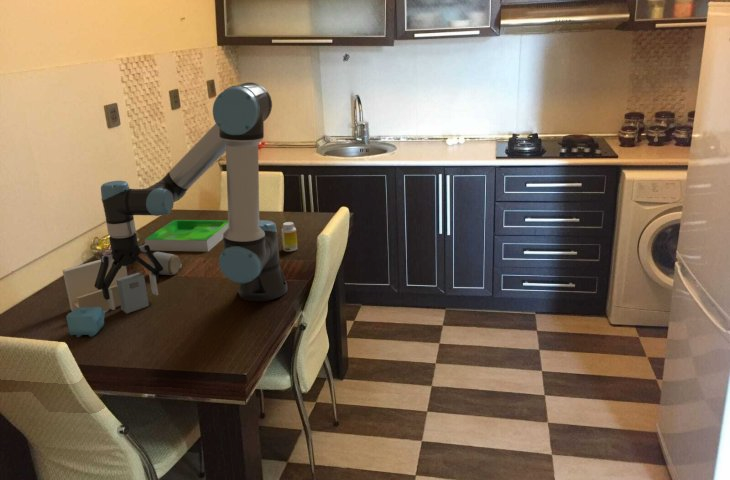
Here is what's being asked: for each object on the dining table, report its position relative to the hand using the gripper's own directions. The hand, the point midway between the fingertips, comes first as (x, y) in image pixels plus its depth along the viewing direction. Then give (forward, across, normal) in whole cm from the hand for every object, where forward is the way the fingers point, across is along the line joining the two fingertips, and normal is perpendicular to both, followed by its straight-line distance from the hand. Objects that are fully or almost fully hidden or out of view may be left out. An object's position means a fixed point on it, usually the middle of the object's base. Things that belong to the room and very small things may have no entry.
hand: (134, 301), depth 188 cm
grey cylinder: (+2, -21, -20) cm, 29 cm away
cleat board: (+2, +5, -10) cm, 11 cm away
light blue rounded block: (+2, +16, +6) cm, 17 cm away
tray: (+3, -44, -45) cm, 63 cm away
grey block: (+2, 0, 0) cm, 2 cm away
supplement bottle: (+2, -63, -5) cm, 63 cm away
